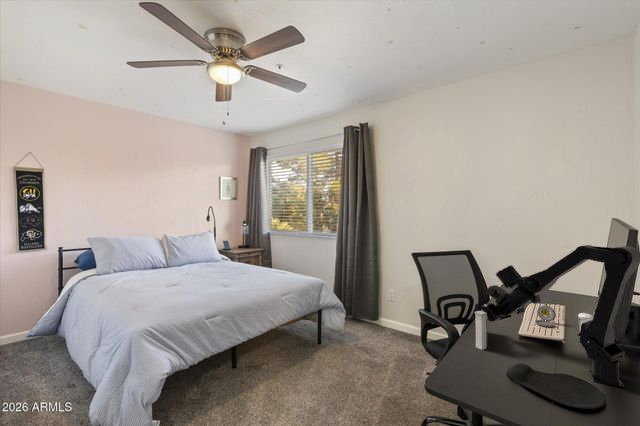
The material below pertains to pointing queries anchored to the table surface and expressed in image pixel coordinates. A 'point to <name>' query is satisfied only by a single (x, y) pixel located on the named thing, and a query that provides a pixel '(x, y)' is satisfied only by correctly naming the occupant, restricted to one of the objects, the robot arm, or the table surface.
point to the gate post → (480, 329)
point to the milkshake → (584, 318)
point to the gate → (486, 329)
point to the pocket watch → (546, 311)
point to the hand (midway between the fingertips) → (488, 319)
